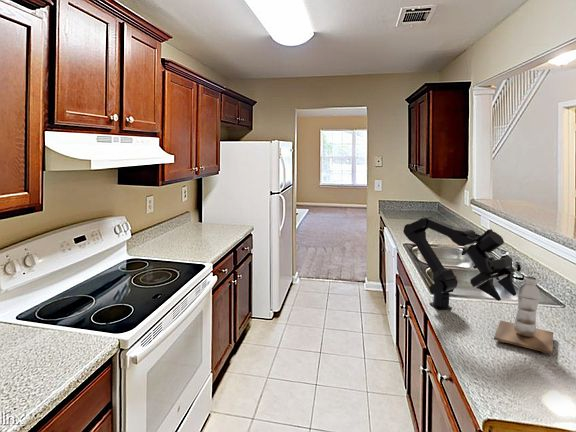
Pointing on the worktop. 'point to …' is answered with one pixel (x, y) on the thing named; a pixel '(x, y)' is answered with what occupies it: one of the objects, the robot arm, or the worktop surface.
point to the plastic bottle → (527, 307)
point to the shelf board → (525, 338)
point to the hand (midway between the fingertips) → (507, 297)
